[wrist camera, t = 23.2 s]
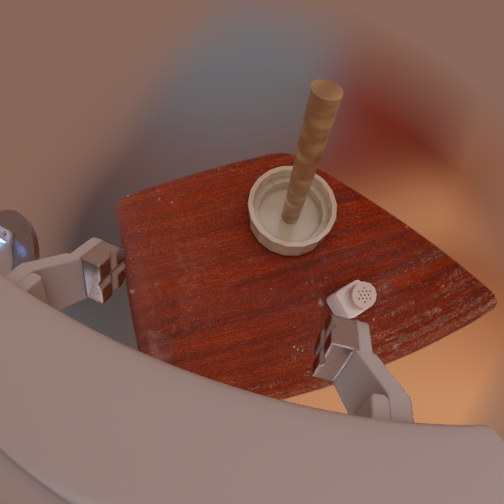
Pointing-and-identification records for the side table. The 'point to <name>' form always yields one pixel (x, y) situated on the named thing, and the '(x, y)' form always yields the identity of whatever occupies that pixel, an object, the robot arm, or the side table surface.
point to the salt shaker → (352, 299)
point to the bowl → (271, 206)
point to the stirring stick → (311, 144)
